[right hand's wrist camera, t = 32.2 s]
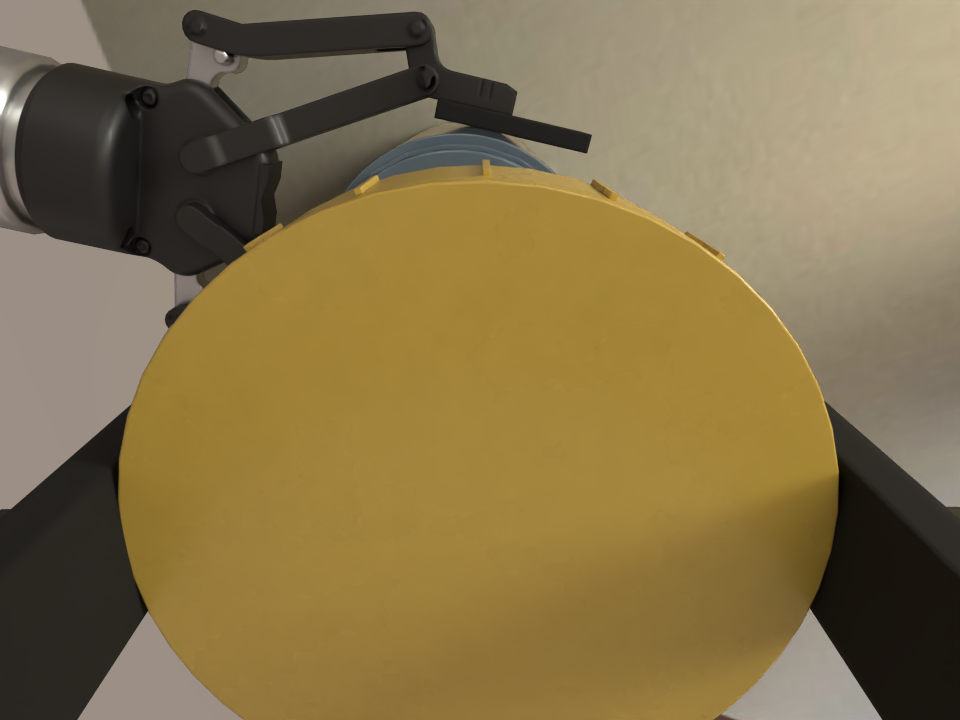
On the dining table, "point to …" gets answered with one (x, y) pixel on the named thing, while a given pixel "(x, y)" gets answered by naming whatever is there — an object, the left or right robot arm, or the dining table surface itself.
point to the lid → (478, 463)
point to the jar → (451, 152)
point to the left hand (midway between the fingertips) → (553, 260)
